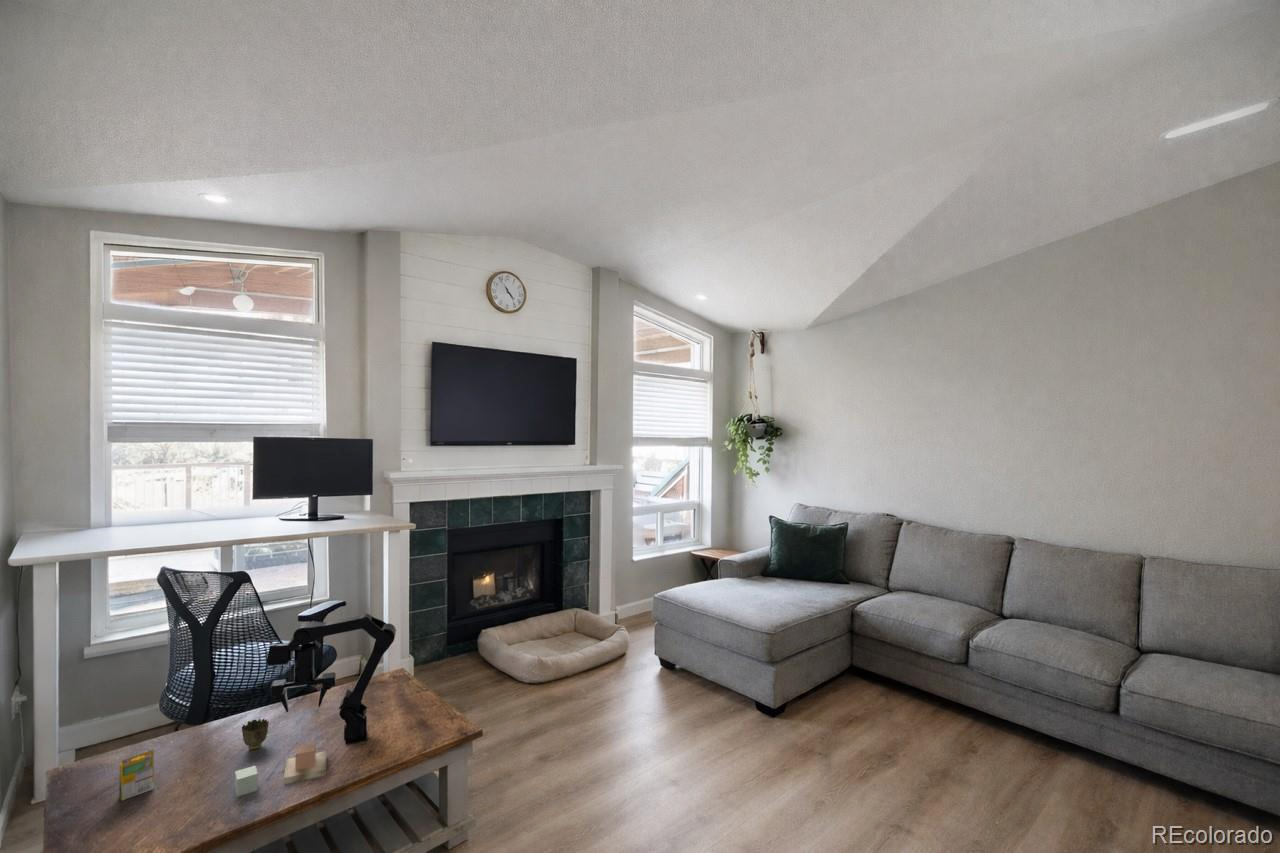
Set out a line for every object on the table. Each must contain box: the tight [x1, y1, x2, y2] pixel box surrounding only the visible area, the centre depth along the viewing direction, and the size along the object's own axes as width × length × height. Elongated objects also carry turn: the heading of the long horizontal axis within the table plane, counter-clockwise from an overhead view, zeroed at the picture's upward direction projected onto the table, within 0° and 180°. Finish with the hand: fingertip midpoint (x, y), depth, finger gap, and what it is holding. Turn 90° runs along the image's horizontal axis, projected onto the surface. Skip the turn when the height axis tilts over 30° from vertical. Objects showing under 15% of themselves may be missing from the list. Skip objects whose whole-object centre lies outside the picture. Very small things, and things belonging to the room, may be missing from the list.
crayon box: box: [118, 749, 155, 802], centre depth 172 cm, size 7×3×12 cm, turn 141°
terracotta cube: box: [295, 742, 317, 771], centre depth 184 cm, size 5×5×5 cm
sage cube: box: [234, 765, 259, 798], centre depth 175 cm, size 5×5×5 cm
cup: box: [241, 718, 270, 751], centre depth 196 cm, size 8×7×8 cm
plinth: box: [283, 750, 328, 785], centre depth 185 cm, size 11×11×2 cm
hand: (303, 709), depth 198 cm, fingers open, 9 cm apart
